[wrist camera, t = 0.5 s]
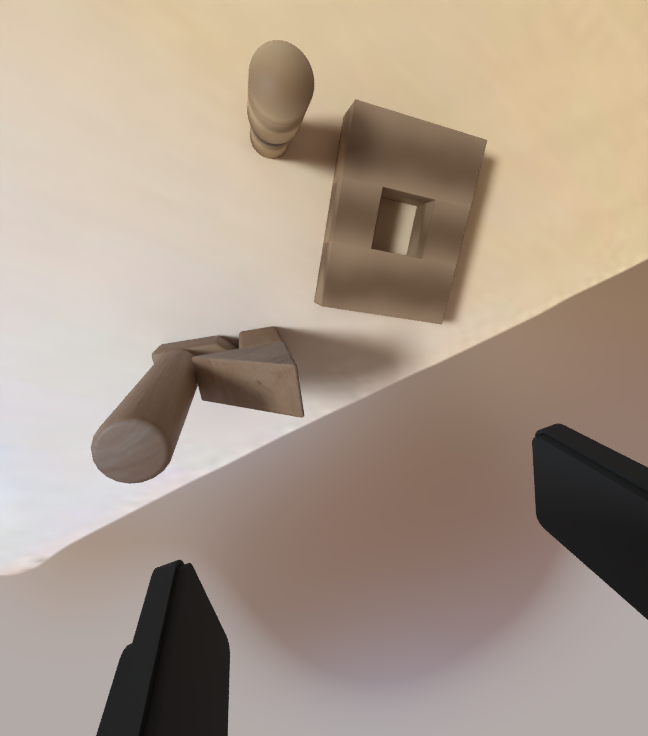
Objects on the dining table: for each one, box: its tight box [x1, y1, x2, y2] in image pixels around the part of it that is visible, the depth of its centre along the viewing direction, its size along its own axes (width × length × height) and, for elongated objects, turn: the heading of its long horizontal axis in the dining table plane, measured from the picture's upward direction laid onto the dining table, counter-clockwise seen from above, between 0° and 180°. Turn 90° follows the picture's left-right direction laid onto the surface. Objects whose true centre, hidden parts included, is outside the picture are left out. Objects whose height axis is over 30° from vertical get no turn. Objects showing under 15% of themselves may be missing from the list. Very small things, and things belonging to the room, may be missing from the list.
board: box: [314, 99, 487, 324], centre depth 33 cm, size 16×12×4 cm
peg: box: [247, 40, 314, 158], centre depth 26 cm, size 4×4×10 cm
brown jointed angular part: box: [91, 326, 304, 483], centre depth 26 cm, size 4×11×18 cm, turn 97°
